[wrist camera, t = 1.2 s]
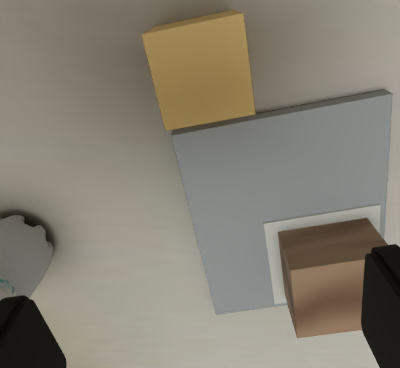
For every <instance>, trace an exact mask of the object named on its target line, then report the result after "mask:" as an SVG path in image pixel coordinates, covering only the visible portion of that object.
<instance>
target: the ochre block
mask: <svg viewBox="0 0 400 368" xmlns="http://www.w3.org/2000/svg"><path fill="white" fill-rule="evenodd" d="M142 39H143V43H144V47H145V51H146V55H147V59H148V63H149V67H150V71H151V75H152V79H153V83H154V87H155V91H156V95H157V99H158V103H159V107H160V111H161V115H162V119H163V123H164V127H165V131H168V130H173V129H179V128H184V127H190V126H195V125H200V124H206V123H211V122H217V121H222V120H228V119H233V118H239V117H244V116H249V115H255V106H254V97H253V89H252V80H251V72H250V64H249V55H248V47H247V39H246V30H245V22H244V13H241V12H238V11H235V10H230V11H225V12H221V13H216V14H211V15H206V16H202V17H197V18H192V19H188V20H183V21H178V22H173V23H169V24H164V25H159V26H155V27H153V28H152V29H150V30H148V31H147V32H145V33H143V34H142Z"/></svg>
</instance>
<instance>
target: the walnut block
mask: <svg viewBox="0 0 400 368" xmlns="http://www.w3.org/2000/svg"><path fill="white" fill-rule="evenodd" d="M278 240H279V249H280V257H281V266H282V275H283V283H284V292H285V297H286V301H287V304H288V308H289V311H290V315H291V318H292V322H293V325H294V329H295V332H296V336H297V338H302V337H310V336H317V335H325V334H333V333H340V332H348V331H356V330H362V327H361V311H362V295H363V279H364V263H365V255H366V254H369V253H371V249H372V248H373V247H379V246H386V245H388V244H387V243H386V242H385V240H384V239H383V238H382V237H381V235H380V234H379V233H378V231H377V230H376V229H375V227H374V226H373V225H372V223H371V222H370V221H369V220H368V218H362V219H356V220H349V221H343V222H337V223H331V224H324V225H318V226H312V227H305V228H299V229H293V230H286V231H280V232H278Z"/></svg>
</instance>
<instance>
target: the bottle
mask: <svg viewBox="0 0 400 368" xmlns="http://www.w3.org/2000/svg"><path fill="white" fill-rule="evenodd" d="M24 221H25V219H24V217H23V216H20V215H13V216H10V217H7V218H4V219H2V218H0V301H1V299H3V298H7V297H14V296H21V295H25V296H27V297H28V298H30V296H31V295H32V293H33V292H34V290H35V289H36V287H37V286H38V284H39V283H40V281H41V280H42V278H43V276H44V275H45V273H46V271H47V269H48V267H49V264H50V261H51V258H52V254H53V247H52V244H51V243H50V242H48V241H46V238H45V229H44V228H43V227H42V226H41V225H37V226H35V227H31V226H29V225H27V224H25V223H24Z"/></svg>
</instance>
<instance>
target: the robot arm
mask: <svg viewBox="0 0 400 368" xmlns="http://www.w3.org/2000/svg"><path fill="white" fill-rule="evenodd" d="M361 327H362V331H363V334H364V336H365V338H366V340H367V342H368V344H369V346H370V348H371V350H372V352H373V355H374V357H375V359H376V361H377V363H378V365H379V367H380V368H400V247H399V246H398V245H396V244H393V245H386V246H379V247H373V248H372V249H371V253H369V254H366V255H365V263H364V279H363V295H362V311H361ZM0 368H66V358H65V356H64V354H63V352H62V350H61V349H60V347H59V345H58V343H57V342H56V340H55V338H54V336H53V334H52V333H51V331H50V329H49V327H48V325H47V324H46V322H45V320H44V318H43V317H42V315H41V313H40V311H39V309H38V308H37V306H36V304H35V302H34V301H33V300H29V298H28V297H27V296H25V295H21V296H14V297H7V298H3V299H1V301H0Z"/></svg>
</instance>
